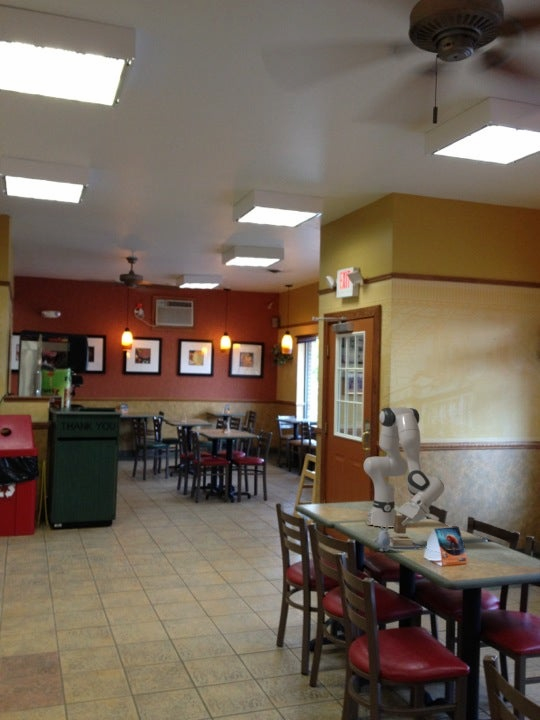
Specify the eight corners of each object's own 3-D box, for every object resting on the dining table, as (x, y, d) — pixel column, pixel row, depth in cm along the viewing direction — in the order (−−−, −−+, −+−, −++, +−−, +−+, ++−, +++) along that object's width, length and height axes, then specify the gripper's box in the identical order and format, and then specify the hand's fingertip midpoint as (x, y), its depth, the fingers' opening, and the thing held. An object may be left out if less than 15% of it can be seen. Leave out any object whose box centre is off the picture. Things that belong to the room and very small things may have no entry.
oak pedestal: (385, 540, 333) (386, 534, 333) (404, 541, 335) (404, 534, 335) (393, 545, 323) (393, 539, 323) (412, 546, 325) (412, 539, 325)
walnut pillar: (393, 531, 331) (394, 515, 331) (402, 531, 332) (402, 515, 332) (397, 533, 327) (397, 517, 327) (405, 533, 327) (406, 517, 328)
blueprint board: (379, 541, 337) (379, 538, 337) (409, 541, 340) (409, 539, 340) (390, 548, 321) (390, 546, 321) (421, 549, 324) (421, 546, 324)
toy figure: (375, 552, 312) (376, 527, 313) (370, 549, 318) (371, 524, 319) (396, 552, 314) (397, 527, 315) (391, 549, 320) (392, 524, 321)
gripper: (407, 496, 341) (388, 514, 339) (423, 503, 321) (403, 523, 319) (414, 504, 342) (396, 523, 340) (431, 512, 322) (411, 532, 320)
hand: (399, 523), depth 329 cm, fingers closed on walnut pillar, 4 cm apart
